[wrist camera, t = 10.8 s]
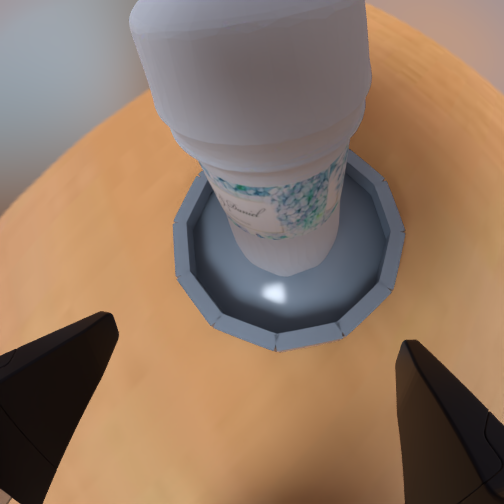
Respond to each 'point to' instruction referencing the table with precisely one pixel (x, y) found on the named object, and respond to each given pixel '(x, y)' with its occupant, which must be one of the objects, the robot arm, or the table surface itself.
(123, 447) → the table surface
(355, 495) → the table surface
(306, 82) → the bottle
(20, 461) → the robot arm
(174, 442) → the table surface
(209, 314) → the bowl
